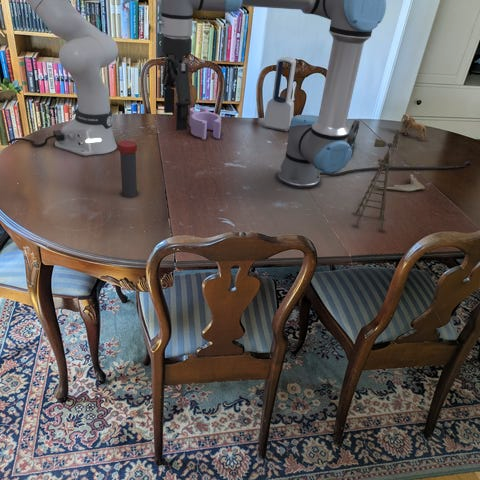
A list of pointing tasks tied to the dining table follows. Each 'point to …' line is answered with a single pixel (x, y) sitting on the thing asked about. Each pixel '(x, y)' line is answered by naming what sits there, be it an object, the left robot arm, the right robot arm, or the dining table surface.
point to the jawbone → (414, 185)
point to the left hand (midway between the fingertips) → (175, 19)
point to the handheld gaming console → (353, 133)
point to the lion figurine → (413, 126)
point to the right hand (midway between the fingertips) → (175, 120)
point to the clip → (204, 123)
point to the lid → (127, 146)
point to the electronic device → (281, 99)
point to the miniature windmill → (382, 163)
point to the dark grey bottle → (128, 174)
